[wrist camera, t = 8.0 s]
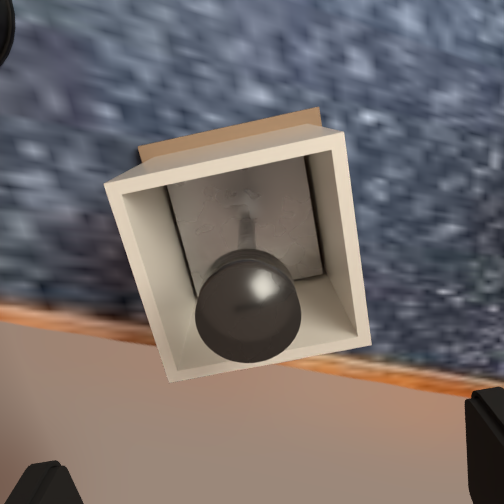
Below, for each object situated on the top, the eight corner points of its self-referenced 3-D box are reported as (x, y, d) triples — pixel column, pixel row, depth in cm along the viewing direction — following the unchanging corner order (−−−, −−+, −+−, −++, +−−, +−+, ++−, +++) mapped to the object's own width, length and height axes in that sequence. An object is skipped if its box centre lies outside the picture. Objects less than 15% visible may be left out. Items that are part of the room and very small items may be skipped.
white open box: (316, 107, 32) (361, 105, 19) (341, 276, 36) (391, 362, 24) (140, 145, 32) (77, 167, 20) (187, 307, 37) (159, 405, 25)
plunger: (299, 143, 29) (350, 176, 15) (320, 270, 32) (378, 392, 18) (165, 172, 30) (95, 229, 16) (199, 294, 33) (165, 431, 19)
